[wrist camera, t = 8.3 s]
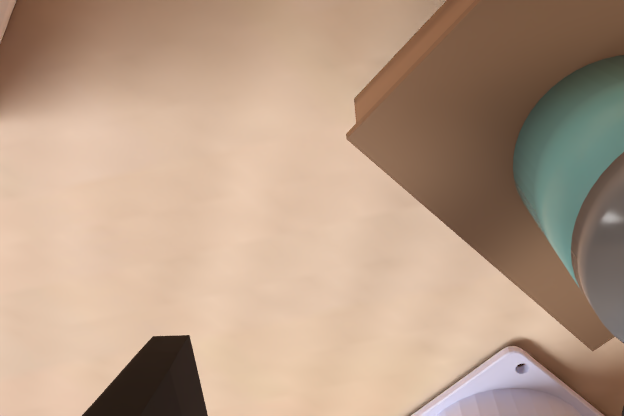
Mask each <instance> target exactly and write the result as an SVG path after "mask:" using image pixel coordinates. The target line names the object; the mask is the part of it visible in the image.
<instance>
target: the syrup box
mask: <svg viewBox="0 0 624 416" xmlns="http://www.w3.org/2000/svg"><path fill="white" fill-rule="evenodd" d="M15 3H16V0H0V43H1V40H2V38H3V35H4V32H5V30H6V27H7V24H8V21H9V19H10V16H11V13H12V11H13V8H14V6H15Z"/></svg>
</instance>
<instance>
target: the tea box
mask: <svg viewBox="0 0 624 416" xmlns="http://www.w3.org/2000/svg"><path fill="white" fill-rule="evenodd" d="M620 55H624V0H447V1H446V2H445V3H444V4H443V5H442V6H441V7H440V8H439V9H438V10H437V11H436V12H435V14H434V15H433V16H432V17H431V18H430V19H429V20H428V21H427V22H426V23H425V24H424V25H423V26H422V27H421V28H420V29H419V31H418V32H417V33H416V34H415V35H414V36H413V37H412V38H411V39H410V40H409V41H408V42H407V43H406V44H405V45H404V46H403V48H402V49H401V50H400V51H399V52H398V53H397V54H396V55H395V56H394V57H393V58H392V59H391V60H390V61H389V62H388V63H387V65H386V66H385V67H384V68H383V69H382V70H381V71H380V72H379V73H378V74H377V75H376V76H375V77H374V78H373V79H372V80H371V82H370V83H369V84H368V85H367V86H366V87H365V88H364V89H363V90H362V91H361V92H360V93H359V94H358V95H357V96H356V97H355V99H354V102H355V114H356V124H355V125H354V126H353V127H352V128H351V129H350V130H349V132H348V133H347V134H346V138H347V140H348V141H349V142H351V143H352V144H353V145H354V146H355V147H356V148H358V149H359V150H360V151H361V152H362V153H363V154H365V155H366V156H367V157H368V158H369V159H370V160H371V161H373V162H374V163H375V164H376V165H377V166H378V167H380V168H381V169H382V170H383V171H384V172H385V173H387V174H388V175H389V176H390V177H391V178H392V179H394V180H395V181H396V182H397V183H398V184H399V185H400V186H402V187H403V188H404V189H405V190H406V191H407V192H409V193H410V194H411V195H412V196H413V197H414V198H416V199H417V200H418V201H419V202H420V203H421V204H423V205H424V206H425V207H426V208H427V209H428V210H429V211H431V212H432V213H433V214H434V215H435V216H436V217H438V218H439V219H440V220H441V221H442V222H443V223H445V224H446V225H447V226H448V227H449V228H450V229H451V230H453V231H454V232H455V233H456V234H457V235H458V236H460V237H461V238H462V239H463V240H464V241H465V242H467V243H468V244H469V245H470V246H471V247H472V248H474V249H475V250H476V251H477V252H478V253H479V254H480V255H482V256H483V257H484V258H485V259H486V260H487V261H489V262H490V263H491V264H492V265H493V266H494V267H496V268H497V269H498V270H499V271H500V272H501V273H503V274H504V275H505V276H506V277H507V278H508V279H509V280H511V281H512V282H513V283H514V284H515V285H516V286H518V287H519V288H520V289H521V290H522V291H523V292H525V293H526V294H527V295H528V296H529V297H530V298H531V299H533V300H534V301H535V302H536V303H537V304H538V305H540V306H541V307H542V308H543V309H544V310H545V311H547V312H548V313H549V314H550V315H551V316H552V317H554V318H555V319H556V320H557V321H558V322H559V323H560V324H562V325H563V326H564V327H565V328H566V329H567V330H569V331H570V332H571V333H572V334H573V335H574V336H576V337H577V338H578V339H579V340H580V341H581V342H583V343H584V344H585V345H586V346H587V347H588V348H589V349H591V350H592V351H594V350H595V349H597V348H598V347H600V346H601V345H603V344H604V343H606V342H607V341H609V340H610V339H612V338H614V337H615V336H614V335H613V334H612V333H611V332H610V331H609V330H608V329H607V328H606V327H605V326H604V325H603V323H602V322H601V320H600V319H599V317H598V315H597V314H596V312H595V311H594V309H593V308H592V306H591V305H590V303H589V302H588V300H587V299H586V297H585V296H584V294H583V293H582V291H581V290H580V288H579V287H578V285H577V284H576V282H575V281H574V279H573V278H572V276H571V275H570V273H569V271H568V270H567V268H566V267H565V265H564V264H563V262H562V261H561V259H560V258H559V256H558V255H557V253H556V252H555V250H554V249H553V247H552V246H551V244H550V243H549V241H548V240H547V238H546V237H545V235H544V234H543V232H542V231H541V229H540V228H539V226H538V224H537V223H536V221H535V220H534V218H533V217H532V215H531V214H530V212H529V211H528V209H527V208H526V206H525V205H524V203H523V202H522V200H521V198H520V196H519V193H518V191H517V188H516V185H515V181H514V174H513V156H514V150H515V145H516V141H517V138H518V135H519V132H520V130H521V128H522V126H523V124H524V122H525V120H526V118H527V117H528V115H529V113H530V112H531V110H532V109H533V108H534V106H535V105H536V104H537V103H538V101H539V100H540V99H541V98H542V97H543V96H544V95H545V94H546V93H547V92H548V91H549V90H550V89H551V88H552V87H553V86H554V85H556V84H557V83H558V82H559V81H561V80H562V79H563V78H565V77H566V76H568V75H570V74H571V73H573V72H574V71H576V70H578V69H580V68H582V67H584V66H586V65H588V64H591V63H594V62H596V61H599V60H602V59H606V58H610V57H614V56H620Z"/></svg>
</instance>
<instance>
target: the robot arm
mask: <svg viewBox="0 0 624 416" xmlns="http://www.w3.org/2000/svg"><path fill="white" fill-rule="evenodd" d="M519 364H524V365H523V366H521V367H517V365H519ZM82 416H208V415H207V410H206V406H205V402H204V397H203V393H202V388H201V384H200V380H199V375H198V371H197V367H196V362H195V358H194V353H193V349H192V345H191V340H190V336H189V335H183V336H153V337H152V338H151V339H150V340H149V341H148V342H147V343H146V345H145V346H144V347H143V348H142V349H141V350H140V351H139V352H138V353H137V354H136V356H135V357H134V358H133V359H132V360H131V361H130V362H129V363H128V365H127V366H126V367H125V368H124V369H123V370H122V371H121V373H120V374H119V375H118V376H117V377H116V378H115V379H114V380H113V382H112V383H111V384H110V385H109V386H108V387H107V388H106V389H105V391H104V392H103V393H102V394H101V395H100V396H99V397H98V398H97V400H96V401H95V402H94V403H93V404H92V405H91V406H90V407H89V408H88V409H87V411H86V412H85V413H84V414H83V415H82ZM411 416H604V415H603V414H602V413H601V412H599V411H598V410H597V409H596V408H594V407H593V406H592V405H591V404H589V403H588V402H587V401H586V400H584V399H583V398H582V397H581V396H580V395H578V394H577V393H576V392H575V391H573V390H572V389H571V388H570V387H568V386H567V385H566V384H565V383H563V382H562V381H561V380H560V379H558V378H557V377H556V376H555V375H554V374H552V373H551V372H550V371H549V370H547V369H546V368H545V367H544V366H542V365H541V364H540V363H539V362H537V361H536V360H535V359H534V358H532V357H531V356H530V355H529V354H528V353H526V352H525V351H524V350H523V349H521V348H519V347H517V346H509V347H506V348H504V349H502V350H501V351H499V352H498V353H497V354H495V355H494V356H492V357H491V358H490V359H488V360H487V361H486V362H484V363H483V364H481V365H480V366H479V367H477V368H476V369H474V370H473V371H472V372H470V373H469V374H468V375H466V376H465V377H463V378H462V379H461V380H459V381H458V382H457V383H455V384H454V385H452V386H451V387H450V388H448V389H447V390H445V391H444V392H443V393H441V394H440V395H439V396H437V397H436V398H434V399H433V400H432V401H430V402H429V403H428V404H426V405H425V406H423V407H422V408H421V409H419V410H418V411H417V412H415V413H414V414H412V415H411ZM622 416H624V407H623V411H622Z"/></svg>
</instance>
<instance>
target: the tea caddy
mask: <svg viewBox="0 0 624 416" xmlns="http://www.w3.org/2000/svg"><path fill="white" fill-rule="evenodd" d="M513 174H514V181H515V185H516V188H517V191H518V193H519V196H520V198H521V200H522V202H523V203H524V205H525V206H526V208H527V209H528V211H529V212H530V214H531V215H532V217H533V218H534V220H535V221H536V223H537V224H538V226H539V228H540V229H541V231H542V232H543V234H544V235H545V237H546V238H547V240H548V241H549V243H550V244H551V246H552V247H553V249H554V250H555V252H556V253H557V255H558V256H559V258H560V259H561V261H562V262H563V264H564V265H565V267H566V268H567V270H568V271H569V273H570V275H571V276H572V278H573V279H574V281H575V282H576V284H577V285H578V287H579V288H580V290H581V291H582V293H583V294H584V296H585V297H586V299H587V300H588V302H589V303H590V305H591V306H592V308H593V309H594V311H595V312H596V314H597V315H598V317H599V319H600V320H601V322H602V323H603V325H604V326H605V327H606V328H607V329H608V330H609V331H610V332H611V333H612V334H613V335H614V336H615V337H616V338H618V339H619V340H620V341H622V342H623V343H624V55H620V56H614V57H610V58H606V59H602V60H599V61H596V62H594V63H591V64H588V65H586V66H584V67H582V68H580V69H578V70H576V71H574V72H573V73H571V74H570V75H568V76H566V77H565V78H563V79H562V80H561V81H559V82H558V83H557V84H556V85H554V86H553V87H552V88H551V89H550V90H549V91H548V92H547V93H546V94H545V95H544V96H543V97H542V98H541V99H540V100H539V101H538V103H537V104H536V105H535V106H534V108H533V109H532V110H531V112H530V113H529V115H528V117H527V118H526V120H525V122H524V124H523V126H522V128H521V130H520V132H519V135H518V138H517V141H516V145H515V150H514V156H513Z"/></svg>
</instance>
